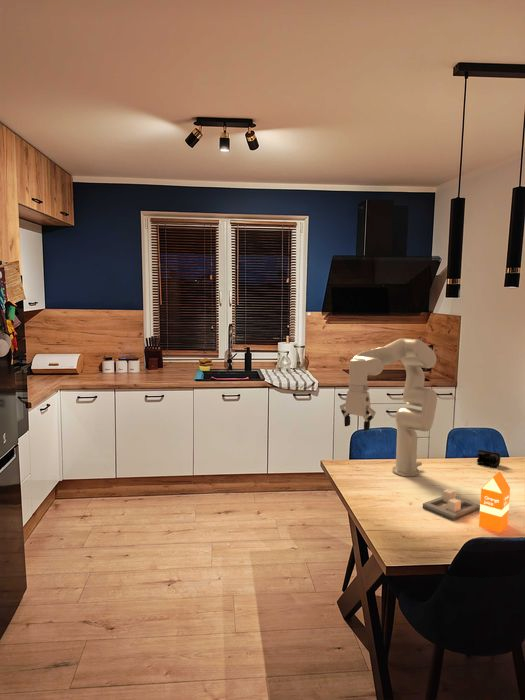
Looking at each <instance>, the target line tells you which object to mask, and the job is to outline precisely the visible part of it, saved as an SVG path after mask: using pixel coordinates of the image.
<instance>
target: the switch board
mask: <svg viewBox="0 0 525 700" xmlns="http://www.w3.org/2000/svg"><path fill="white" fill-rule="evenodd" d="M455 499H458V500H460V501H461V510H460V511H457V512H455V513H453V512H451V511H448V503H447V502H444V501H443V495H442V496H440V497H436V498H433V499H431V500H428V501H426V502H423V503H422V509H424V510H426V511H429V512H430V513H434V514H436V515H438V516H441V517H443V518H446V519H448V520H450V521H452V522H453V521H457V520H460V519H462V518H464V517H466V516H468V515H472V514H473V513H475V512H478V511H480V504H479V503H477V502H473V501H470V500H468V499H465V498H462V497H461V496H457V495H456V496H455Z"/></svg>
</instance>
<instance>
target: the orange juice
mask: <svg viewBox="0 0 525 700" xmlns="http://www.w3.org/2000/svg"><path fill="white" fill-rule="evenodd" d="M510 492H511V487H510V485H509V483H508V482H507V481H506V478H505V477H504V475H503V474H502V472H501V471H499V472H497V473H495V474H494V475H493V476H491V478H490V479H489V480H488V481H487V482H486V483H485V484H484V485H483V486H482V487H481V488H480V504H479V505H480V510H479V520H478V521H479V523H478V526H479V527H481V528H483V529H486V530H487V529H488V530H490V531H493V532H497V533H502V532H503V530H505V528H506V527H508V525H509V511H510V496H511V495H510V494H511V493H510Z"/></svg>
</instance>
